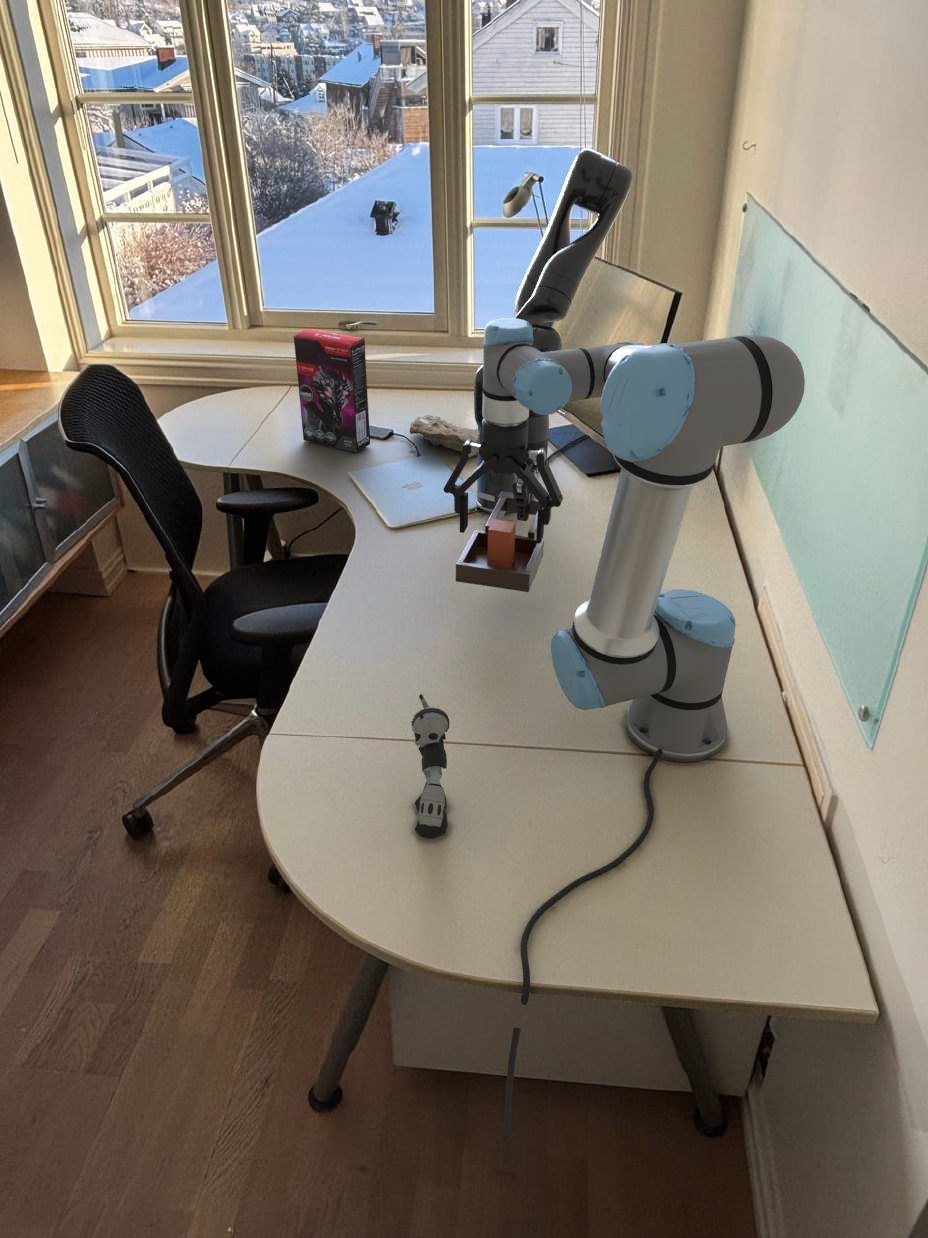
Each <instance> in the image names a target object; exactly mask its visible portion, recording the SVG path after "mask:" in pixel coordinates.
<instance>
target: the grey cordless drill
mask: <svg viewBox="0 0 928 1238" xmlns="http://www.w3.org/2000/svg"><path fill="white" fill-rule="evenodd" d="M418 697H419V698H418V699H419V701H420V703H421V705H422V708H421V709H420V710H419V711H418V712H416V714H414V715H413V717H412V720H411V721H410V722H411V723H410V724H411V731H412V732H413V734H414V745H416V746H417V749H418V752H419V753H420V755H421V772H422V773H423V775H424V776H425V780H426V782H425V783H424V786H423V789H422V792H421V793H420V795H419V796H418V797H417V799H416V800H415V802H414V806H415V808H416V811H417V812H418V821H417V822H416V825H415V828H414V831H415V832H416V833H417V834H418V835H419V836H420V837H421V838H424V839H435V838H438V837H439V836H443V835H444V834H446V832H447V829H448V826H449V823H448V816H447V813H446V811H445V810H446V809H447V808H448V805H447V804H448V803H447V796H446V793H445V790H444V787H443V786H442V784H441V782H440V781H441V779H442V777H443V772H442V769H447V768H448V757H447V752H446V749H445V743H444V741H445V740H446V739H447V738H446V733H448V730H449V729H450V718H449V715H448V714H447V712H445V711H444V710H442V709H441V708H439V707H437V706H430V705H429V704H428V702H427V700H426V698H425V697H424V695H423V693H420V694H419V695H418ZM418 746H419V747H418Z"/></svg>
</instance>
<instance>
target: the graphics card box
mask: <svg viewBox="0 0 928 1238" xmlns="http://www.w3.org/2000/svg"><path fill="white" fill-rule="evenodd" d="M293 344H294V352H295V353H294V354H295V365H296V375H297V385H298V386H297V387H298V395H299V407H300V418H301V427H302V439H303V441H305V442H308V443H314V444H318V445H322V446H327V447H331V448H336V449H340V450H344V451H348V452H354V453H359V452H360V451H361V450H363V449H365V448H367V447H369V446H370V445H371V433H370V412H369V399H368V380H367V378H368V377H367V376H368V375H367V359H366V357H367V356H366V339H365V337H358V336H352V335H346V334H342V333H336V332H330V331H325V330H319V329H313V328H305V329H303V330H301V331H299V332H297V333H295V335H294V336H293Z"/></svg>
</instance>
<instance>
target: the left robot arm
mask: <svg viewBox="0 0 928 1238" xmlns="http://www.w3.org/2000/svg"><path fill="white" fill-rule="evenodd" d="M633 173H634V172H633V171H632V169H631V168H629V167H628V166H627V165H625V164H624V163H621V162H619V161H617V160H615V159H614V158H611V157H609V156H607V155H605V154H604V153H601V152H599V151H597V150H595V149H592V148H589V147H584V148H583V149H581V150H580V151H579V153H578V154H577V155H576V157H575V158H574V160H573V162H572V164H571V166H570V168H569V171H568V173H567V176H566V178H565V181H564V183H563V186H562V188H561V191H560V193H559V196H558V199H557V200H556V201H557V202H556V204H555V206H554V210H553V211H552V215H551V217H550V220H549V223H548V226H547V227H546V230H545V232H544V234H543V237H542V239H541V240H540V243H539V245H538V247H537V250H536V251H535V253H534V256H533V257H532V260H531V262H530V264H529V266H528V268H527V270H526V272H525V275H524V276H523V279H522V281H521V284H520V286H519V288H518V291H517V293H516V298H515V302H514V303H515V304H514V314H513V318H516V319H522V320H525V321H527V322H529V323H530V324H531V325H532V328H533V338H534V341H533V344H532V346H533V347H534V348H536V349H537V350H539V351H540V352H551V351H559V350H564V343H563V342H564V341H563V338H562V335H561V334H560V332H559V331H558V330H557V329H556V328H554V325H555V323H556V322H559V321H562V320H564V319H565V318H566V317H567V315H568V313H569V311H570V309H571V307H572V304H573V302H574V299H575V298H576V295H577V293H578V291H579V288H580V285H581V284H582V282H583V279H584V277H585V275H586V273H587V271H588V269H589V267H590V266H591V264H592V262H593V261H594V258H595V257H596V256H597V253H599V250H600V248H601V247H602V245H603V243H604V241H605V240H606V238H607V237H608V235H609V232H610V231H611V229H612V227H613V225H614V223H615V222H616V219H617V218H618V216H619V214H620V211H621V210H622V208H623V206H624V204H625V202H626V199H627V198H628V195H629V193H630V191H631V190H630V189H631V187H632V185H633V184H632V183H633V180H634V174H633ZM574 206H576V207H578V208H580V209H582V210H585V211H586V212H588V213H590V214H592V215H595V216H597V218H596V219H595V220H594V222H593V223H592V225H591V226H590V227H589V229H588V230H586V231H585V232H584V233H583V234H582V235H580V236H578V237H577V238H576V239H574V240H573V241H572V240H571V239H572V238H571V237H572V236H571V235H572V234H571V224H572V214H573V209H574ZM474 375H475V376H474V380H473V382H474V383H473V414H474V420H475V423H476V425H477V430H478V444H480V445H481V443H482V420H483V419H484V417H483V416H482V404H483V364H482V365H480V367H479V368H478V369H477V371H476V372H475V374H474ZM527 420H528V443H527V444H528V448H529V450H540V449H541V448H545V449H546V452H547V453H548V451H549V449H548V448H549V435H550V433H549V432H550V431H549V430H550V416H549V415H540V414H537V413H535V412H533V411H532V410H530V409H529V417H528V418H527ZM585 437H588V436H587V435H586V434H585V433H584V434H582V435H579V436H578V437H576V438H574V439H572V440H570V441H569V442H566V444H564V445H562V446H560V447H559V448H558V449H556V450H554V452H552V453H551V454H550V455H549V456H547V462H549V461H550V460H551V459H552V458H553V457H555V456H556V455H558V453H560V452H562V451H563V450H564V449H566V448H567V447H569V446H571V445H572V444H574V443H575V442H578V441H580V440H581V439H584V438H585ZM483 461H484V460H483V459H482V457H481V456H480V454H479V452H478V456H477V462H476V463H477V465H476V466H477V467H478V466H479V465H480V464H481V463H482V462H483ZM526 463H527V465H528V466H529V468H530V471H531V472H532V473H533V474H534V476H535V477H536V478H537V479H538V473H539V471H538V468H537V464H534V463H533V460H532V459H531V458H528V460H527V461H526ZM477 467H476V468H477ZM501 491H503V492H511V493H513V496H514V504H517V513H516V520H517V521H520V522H527V521H528V520H529V515H530V514H529V503H530V495H533V494H532V493H531V491H530V490H529V489H528V487H527V486H526V485H525V483H524V482H523V481H522V480H521V479H519V478H518V477H517V475H516V474H515V473H513V474H512V475H508V474H504V473H493V471H491V470H490V469H488V470H487V471H486V472H485V473H484V474H483V475H482V476H481V477H480V478H479V479H478V480H476V499H477V501H478V502H479V503H480V504H481V505H482V506H481V507H480V506H479V505H478V504H477V502H476V501H475V504H476V507H477V508H478V509H479V510H480V511H482V512H484V513H489V514H492V512H493V510H494V509H495V507H496V505H497V503H498V501H499V495H500V493H501ZM508 513H509V512H508V511H506V512H505V514H508Z"/></svg>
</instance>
